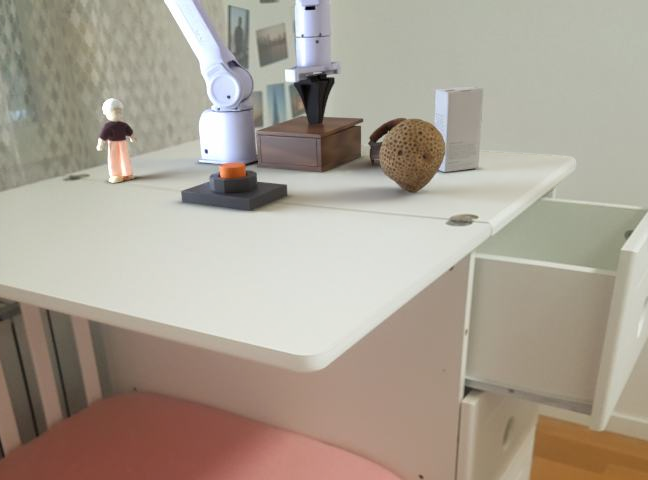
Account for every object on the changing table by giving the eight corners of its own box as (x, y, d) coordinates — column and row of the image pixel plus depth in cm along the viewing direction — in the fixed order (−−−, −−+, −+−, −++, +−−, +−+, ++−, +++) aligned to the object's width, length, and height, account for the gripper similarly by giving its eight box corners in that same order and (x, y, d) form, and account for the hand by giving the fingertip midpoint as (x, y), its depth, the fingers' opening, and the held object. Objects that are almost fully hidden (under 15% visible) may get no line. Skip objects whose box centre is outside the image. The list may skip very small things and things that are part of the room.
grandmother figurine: (117, 184, 114) (105, 101, 108) (98, 183, 115) (86, 101, 110) (147, 174, 120) (137, 95, 114) (129, 173, 121) (118, 95, 116)
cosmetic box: (465, 164, 115) (470, 85, 110) (479, 169, 112) (485, 87, 106) (430, 168, 114) (434, 88, 109) (444, 173, 110) (448, 90, 105)
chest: (300, 152, 132) (299, 122, 129) (361, 156, 125) (361, 125, 123) (258, 166, 122) (256, 134, 119) (321, 172, 115) (320, 138, 113)
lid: (301, 119, 130) (301, 115, 130) (363, 122, 123) (363, 118, 123) (256, 134, 119) (255, 130, 119) (320, 138, 113) (320, 134, 112)
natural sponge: (434, 202, 95) (437, 124, 90) (370, 198, 98) (370, 123, 94) (448, 186, 102) (452, 114, 98) (388, 184, 105) (389, 113, 101)
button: (215, 179, 99) (214, 166, 99) (230, 173, 102) (229, 161, 101) (235, 181, 98) (234, 168, 97) (251, 175, 100) (250, 163, 100)
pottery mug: (438, 171, 114) (417, 128, 109) (384, 197, 117) (361, 156, 113) (430, 139, 123) (411, 98, 118) (381, 164, 126) (359, 125, 122)
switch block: (182, 202, 101) (179, 178, 99) (221, 189, 108) (219, 165, 106) (250, 211, 95) (248, 185, 93) (287, 196, 101) (286, 171, 100)
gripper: (310, 38, 109) (313, 130, 115) (355, 33, 120) (356, 117, 126) (272, 39, 113) (277, 128, 118) (319, 34, 123) (321, 116, 129)
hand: (315, 122), depth 122 cm, fingers closed
